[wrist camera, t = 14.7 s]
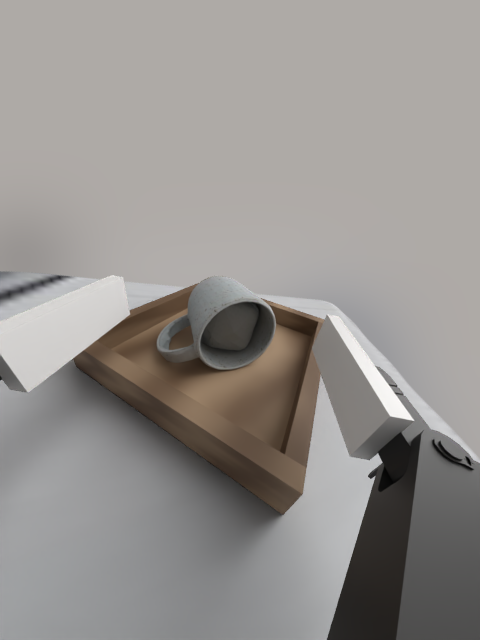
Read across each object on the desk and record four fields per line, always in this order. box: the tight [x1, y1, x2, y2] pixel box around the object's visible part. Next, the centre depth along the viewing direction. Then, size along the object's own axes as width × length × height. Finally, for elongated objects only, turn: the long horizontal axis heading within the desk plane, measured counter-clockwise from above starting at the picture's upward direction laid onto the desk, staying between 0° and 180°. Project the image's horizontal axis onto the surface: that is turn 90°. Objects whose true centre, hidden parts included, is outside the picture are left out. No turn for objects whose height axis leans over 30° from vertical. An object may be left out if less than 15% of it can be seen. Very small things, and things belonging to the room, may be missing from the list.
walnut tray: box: [73, 283, 324, 515], centre depth 21 cm, size 20×20×4 cm
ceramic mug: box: [157, 276, 276, 370], centre depth 19 cm, size 11×8×8 cm
